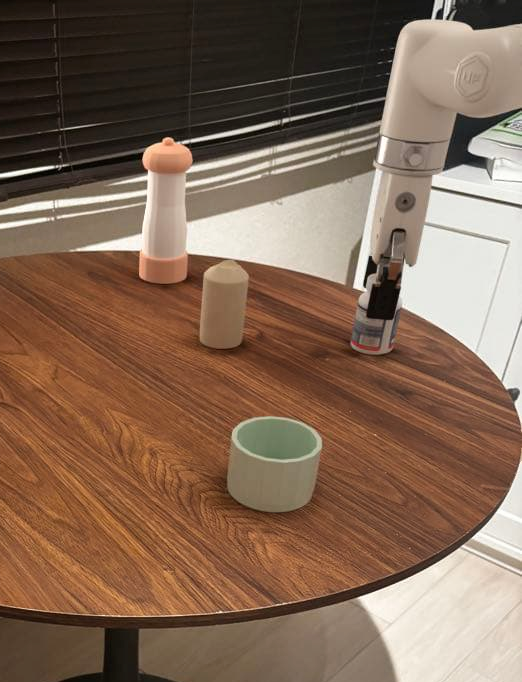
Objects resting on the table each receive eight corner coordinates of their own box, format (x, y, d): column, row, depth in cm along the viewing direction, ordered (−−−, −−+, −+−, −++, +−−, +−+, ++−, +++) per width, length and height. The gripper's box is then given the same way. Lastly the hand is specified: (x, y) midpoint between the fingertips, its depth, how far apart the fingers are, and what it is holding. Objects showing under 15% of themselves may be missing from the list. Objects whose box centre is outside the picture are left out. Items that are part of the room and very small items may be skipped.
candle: (209, 328, 108) (215, 253, 101) (248, 337, 106) (256, 260, 99) (192, 344, 104) (197, 266, 98) (232, 352, 102) (240, 274, 96)
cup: (313, 469, 80) (322, 421, 77) (312, 517, 74) (322, 466, 71) (230, 460, 82) (235, 412, 78) (222, 506, 75) (228, 456, 72)
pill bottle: (376, 336, 106) (390, 268, 100) (400, 352, 102) (417, 283, 97) (341, 342, 104) (354, 273, 99) (365, 358, 101) (379, 288, 95)
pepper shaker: (143, 265, 127) (146, 131, 115) (189, 269, 126) (197, 133, 114) (135, 282, 121) (137, 142, 109) (183, 285, 120) (191, 145, 108)
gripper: (455, 176, 82) (414, 334, 93) (437, 137, 95) (403, 280, 106) (379, 171, 83) (347, 328, 94) (372, 134, 97) (344, 275, 107)
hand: (377, 302), depth 100 cm, fingers open, 9 cm apart
